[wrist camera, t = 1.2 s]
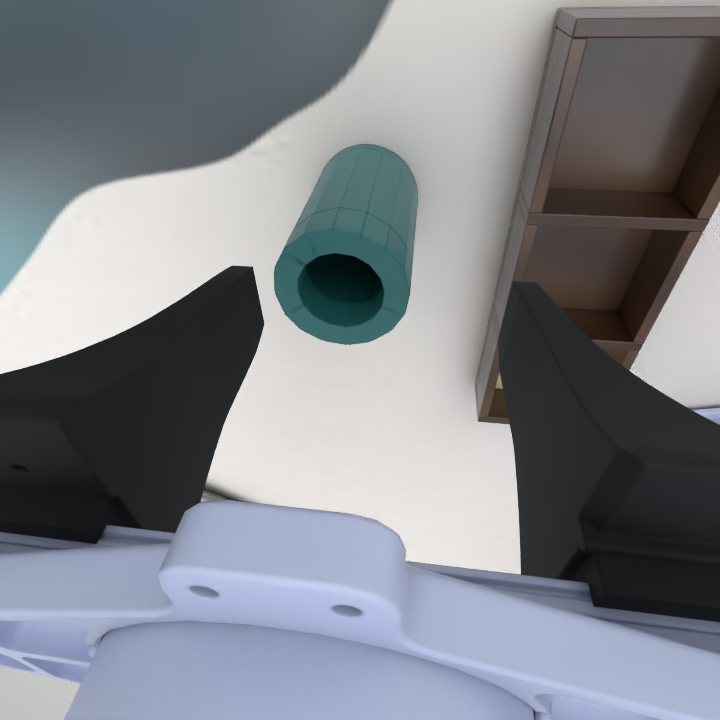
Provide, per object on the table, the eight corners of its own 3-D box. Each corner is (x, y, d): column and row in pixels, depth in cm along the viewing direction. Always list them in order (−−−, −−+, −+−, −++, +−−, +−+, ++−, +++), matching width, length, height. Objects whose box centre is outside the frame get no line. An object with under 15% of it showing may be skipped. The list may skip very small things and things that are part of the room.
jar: (425, 230, 22) (420, 335, 16) (336, 248, 23) (302, 351, 17) (405, 131, 19) (390, 215, 13) (304, 158, 20) (250, 245, 14)
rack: (584, 393, 28) (596, 432, 26) (474, 385, 28) (477, 421, 26) (763, 5, 15) (819, 16, 13) (557, 7, 16) (576, 17, 13)
